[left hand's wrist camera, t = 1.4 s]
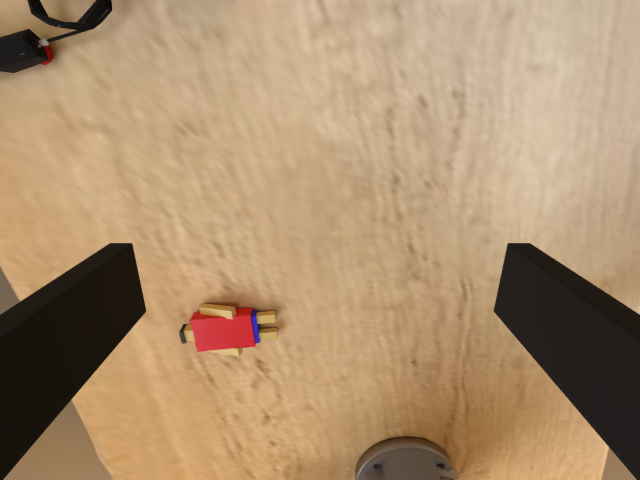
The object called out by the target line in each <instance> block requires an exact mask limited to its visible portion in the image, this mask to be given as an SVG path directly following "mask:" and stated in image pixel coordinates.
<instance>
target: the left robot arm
mask: <svg viewBox="0 0 640 480" xmlns="http://www.w3.org/2000/svg"><path fill="white" fill-rule="evenodd" d="M145 312H146V307H145V303H144V298H143V293H142V288H141V283H140V279H139V274H138V269H137V264H136V259H135V255H134V250H133V245H132V243H110V244H108V245H107V246H105V247H104V248H102V249H101V250H99V251H98V252H96V253H95V254H93V255H91V256H90V257H88V258H87V259H85V260H84V261H82V262H81V263H79V264H78V265H76V266H75V267H73V268H71V269H70V270H68V271H67V272H65V273H64V274H62V275H61V276H59V277H58V278H56V279H55V280H53V281H51V282H50V283H48V284H47V285H45V286H44V287H42V288H41V289H39V290H38V291H36V292H35V293H33V294H31V295H30V296H28V297H27V298H25V299H24V300H22V301H21V302H19V303H18V304H16V305H15V306H13V307H12V308H10V309H8V310H7V311H5V312H4V313H2V314H1V315H0V480H3V479H4V478H5V477H6V476H7V474H8V473H9V472H10V471H11V470H12V468H13V467H14V466H15V465H16V464H17V463H18V461H19V460H20V459H21V458H22V457H23V456H24V454H25V453H26V452H27V451H28V450H29V449H30V447H31V446H32V445H33V444H34V443H35V442H36V440H37V439H38V438H39V437H40V436H41V434H42V433H43V432H44V431H45V430H46V429H47V427H48V426H49V425H50V424H51V423H52V422H53V420H54V419H55V418H56V417H57V416H58V414H59V413H60V412H61V411H62V410H63V409H64V407H65V406H66V405H67V404H68V403H69V402H70V400H71V399H72V398H73V397H74V396H75V394H76V393H77V392H78V391H79V390H80V389H81V387H82V386H83V385H84V384H85V383H86V382H87V380H88V379H89V378H90V377H91V376H92V374H93V373H94V372H95V371H96V370H97V369H98V367H99V366H100V365H101V364H102V363H103V362H104V360H105V359H106V358H107V357H108V356H109V354H110V353H111V352H112V351H113V350H114V349H115V347H116V346H117V345H118V344H119V343H120V342H121V340H122V339H123V338H124V337H125V336H126V334H127V333H128V332H129V331H130V330H131V329H132V327H133V326H134V325H135V324H136V323H137V322H138V320H139V319H140V318H141V317H142V316H143V314H144V313H145ZM494 312H495V313H496V314H497V316H498V317H499V318H500V319H501V320H502V322H503V323H504V324H505V325H506V326H507V327H508V329H509V330H510V331H511V332H512V333H513V334H514V336H515V337H516V338H517V339H518V340H519V342H520V343H521V344H522V345H523V346H524V347H525V349H526V350H527V351H528V352H529V353H530V354H531V356H532V357H533V358H534V359H535V360H536V362H537V363H538V364H539V365H540V366H541V367H542V369H543V370H544V371H545V372H546V373H547V374H548V376H549V377H550V378H551V379H552V380H553V382H554V383H555V384H556V385H557V386H558V387H559V389H560V390H561V391H562V392H563V393H564V394H565V396H566V397H567V398H568V399H569V400H570V402H571V403H572V404H573V405H574V406H575V407H576V409H577V410H578V411H579V412H580V413H581V414H582V416H583V417H584V418H585V419H586V420H587V422H588V423H589V424H590V425H591V426H592V427H593V429H594V430H595V431H596V432H597V433H598V434H599V436H600V437H601V438H602V439H603V440H604V442H605V443H606V444H607V445H608V446H609V447H610V449H611V450H612V451H613V452H614V453H615V454H616V456H617V457H618V458H619V459H620V460H621V462H622V463H623V464H624V465H625V466H626V467H627V469H628V470H629V471H630V472H631V473H632V474H633V476H634V477H635V478H636V479H637V480H640V315H639V314H638V313H636V312H635V311H633V310H632V309H630V308H628V307H627V306H625V305H624V304H622V303H621V302H619V301H618V300H616V299H615V298H613V297H612V296H610V295H609V294H607V293H605V292H604V291H602V290H601V289H599V288H598V287H596V286H595V285H593V284H592V283H590V282H589V281H587V280H585V279H584V278H582V277H581V276H579V275H578V274H576V273H575V272H573V271H572V270H570V269H569V268H567V267H565V266H564V265H562V264H561V263H559V262H558V261H556V260H555V259H553V258H552V257H550V256H549V255H547V254H545V253H544V252H542V251H541V250H539V249H538V248H536V247H535V246H533V245H532V244H530V243H508V245H507V250H506V255H505V259H504V264H503V269H502V274H501V279H500V283H499V288H498V293H497V298H496V303H495V307H494ZM355 474H356V480H454V478H455V479H459V477H458V474H457V472H456V470H454V469H452V466H451V463H450V461H449V458H448V456H447V455H446V453H445V452H444V451H443V450H442V449H441V448H440V447H439V446H437V445H435V444H434V443H432V442H429V441H427V440H423V439H419V438H409V437H405V438H395V439H390V440H387V441H384V442H381V443H379V444H377V445H375V446H373V447H372V448H370V449H369V450H368V451H367V452H365V453H364V454H363V456H362V457H361V458H360V460H359V461H358V464H357V466H356V472H355Z"/></svg>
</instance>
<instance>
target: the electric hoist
mask: <svg viewBox="0 0 640 480" xmlns="http://www.w3.org/2000/svg"><path fill="white" fill-rule="evenodd" d="M28 3H29V7H30V10H31V13H32V14H33V15H34V16H36V17H37V18H39V19H40V20H42V21H44V22H45V23H47V24H49V25H52V26H54V27H61V28H67V29H74V30H77V31H73V32H70V33H67V34H64V35H60V36H57V37H54V38H50V39H44V38H43V39H40V38H39V37H38V36H37V35H36V34H34V33H33V32H32V31H31V30H30V29H27V30H24V31H20V32H17V33H13V34H10V35H7V36H3V37H0V71H3V72H11V73H15V72H18V71H21V70H24V69H26V68H29V67H32V66H35V65H38V64H44V65H46V64H48V63H50V61H51V60H52V51H51V49H50V48H49V46H48V45H49V42H52V41H55V40H59V39H62V38H65V37H68V36H72V35H75V34H78V33H81V32H85V31H88V30H91V29H94V28H95V27H97V26H98V25H99V24H101V23H102V21H103V20H104V19H105V18H106V17H107V16H108V15H109V14H110V12H111V11H112V2H111V0H96V2H95V3H94V4H93V5H92V6H91V7H90V8H89V9H88V11H87V12H86V13H85V14H84V15H83V16H82V17H81V19H80V20H79V21H78V22H62V21H59V20H56V19H53V18H50V17H48V15H47V13H46V11H45V9H44V8H43V6H42V4H41V2H40V0H28ZM107 10H108V11H107ZM106 11H107V12H106ZM105 12H106V13H105ZM104 13H105V14H104ZM103 14H104V15H103ZM102 15H103V16H102ZM101 16H102V17H101Z"/></svg>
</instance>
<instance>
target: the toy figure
mask: <svg viewBox="0 0 640 480" xmlns="http://www.w3.org/2000/svg"><path fill="white" fill-rule="evenodd" d="M199 310H200V312H194V314H193V316H192V318H191V320H190V321H191V324H188V325H187V324H183V326H182V328H181V330H180V332H179V333H180V337H181V342H182V343H186V341H195V343H196V348H197V352H199V351H208V352H214V353H220V354H227V355H233V356H240V355H241V353H242V352H243V351H242V348H244V347H255V345H256V343H260V341H261V340H272V339H278V332H277V328H270V329H260V328H259V324H263V323H275V322H276V315H275V311H269V312H257V310H253V311H252V308H242V309H235V307H230V306H222V305H213V304H205V303H203V304H202V305H201V306H200V307H199Z"/></svg>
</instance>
